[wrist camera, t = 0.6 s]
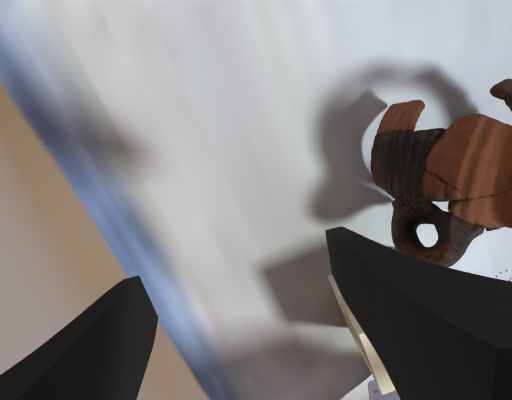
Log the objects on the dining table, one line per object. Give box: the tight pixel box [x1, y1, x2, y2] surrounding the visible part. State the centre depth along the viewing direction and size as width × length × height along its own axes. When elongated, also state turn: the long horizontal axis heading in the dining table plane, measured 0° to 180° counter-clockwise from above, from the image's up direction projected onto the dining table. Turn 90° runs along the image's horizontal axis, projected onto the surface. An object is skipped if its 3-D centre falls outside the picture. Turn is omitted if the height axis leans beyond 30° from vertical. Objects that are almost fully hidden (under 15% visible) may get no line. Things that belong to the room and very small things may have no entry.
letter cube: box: [328, 249, 397, 395], centre depth 20 cm, size 6×6×6 cm
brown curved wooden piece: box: [371, 79, 512, 268], centre depth 17 cm, size 12×9×8 cm
